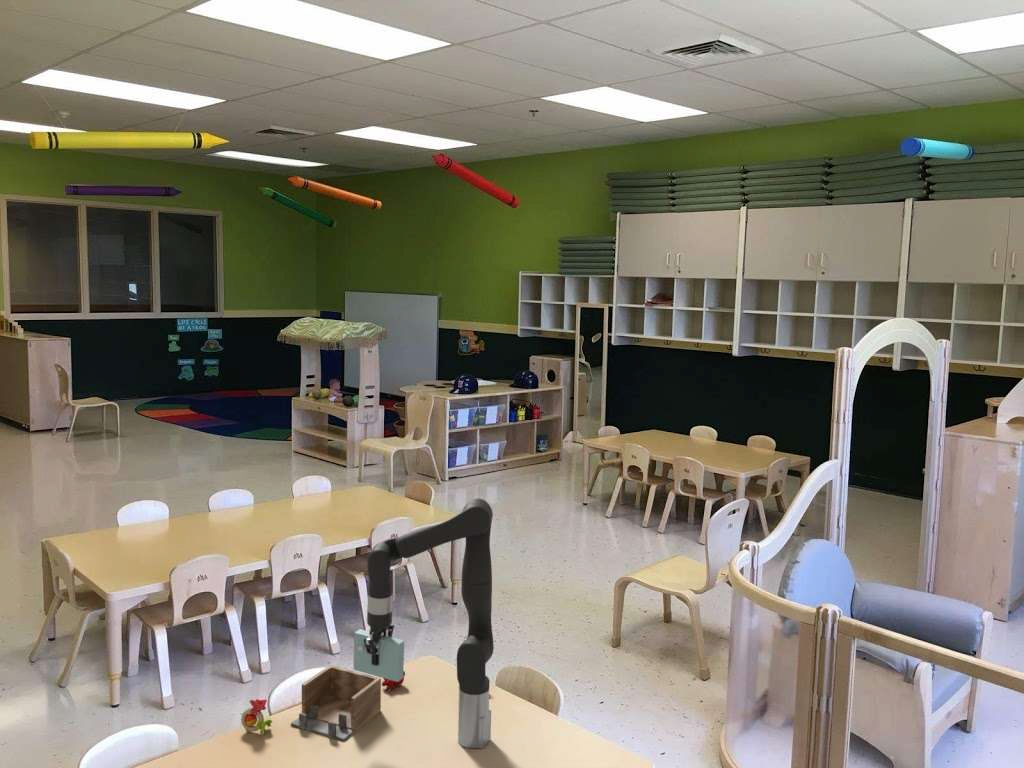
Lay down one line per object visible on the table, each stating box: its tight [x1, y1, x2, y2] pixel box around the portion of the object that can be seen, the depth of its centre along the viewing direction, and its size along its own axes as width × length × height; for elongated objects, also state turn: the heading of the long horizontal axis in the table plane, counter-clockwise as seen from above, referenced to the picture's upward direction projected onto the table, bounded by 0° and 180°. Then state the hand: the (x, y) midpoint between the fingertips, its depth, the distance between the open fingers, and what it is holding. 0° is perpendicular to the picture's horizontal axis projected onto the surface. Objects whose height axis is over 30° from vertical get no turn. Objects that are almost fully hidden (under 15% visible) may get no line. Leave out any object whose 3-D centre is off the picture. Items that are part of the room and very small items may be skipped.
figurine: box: [381, 670, 406, 692], centre depth 299 cm, size 6×8×15 cm
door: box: [352, 628, 405, 682], centre depth 262 cm, size 16×4×12 cm, turn 66°
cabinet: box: [290, 665, 382, 742], centre depth 274 cm, size 20×21×11 cm
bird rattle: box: [240, 699, 273, 737], centre depth 265 cm, size 6×11×9 cm
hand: (378, 662), depth 263 cm, fingers closed on door, 3 cm apart
